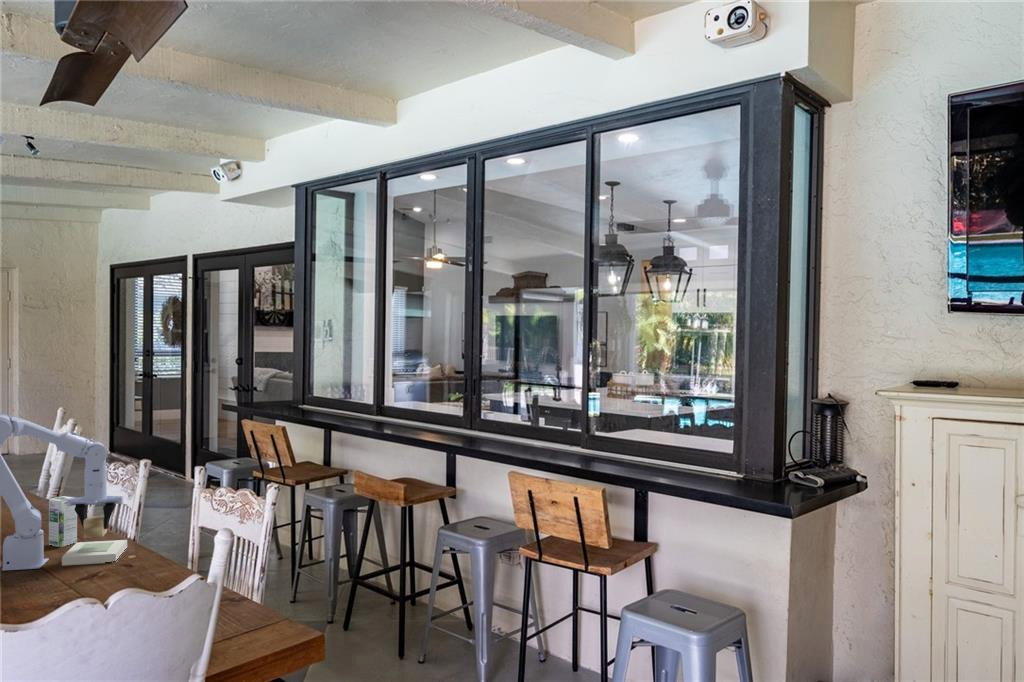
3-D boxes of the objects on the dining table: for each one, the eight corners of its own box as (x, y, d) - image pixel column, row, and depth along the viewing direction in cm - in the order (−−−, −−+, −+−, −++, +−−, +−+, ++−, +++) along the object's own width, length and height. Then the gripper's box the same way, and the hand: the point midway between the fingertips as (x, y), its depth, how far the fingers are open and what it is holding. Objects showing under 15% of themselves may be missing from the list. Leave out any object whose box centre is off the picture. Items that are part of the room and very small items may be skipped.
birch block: (83, 537, 222) (83, 520, 221) (88, 532, 226) (88, 516, 226) (102, 536, 223) (102, 519, 223) (107, 531, 228) (106, 515, 227)
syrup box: (47, 545, 235) (47, 499, 234) (65, 540, 240) (65, 495, 240) (60, 547, 233) (60, 501, 232) (78, 542, 238) (78, 496, 237)
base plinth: (61, 565, 217) (61, 555, 216) (76, 550, 230) (76, 541, 230) (115, 562, 220) (115, 552, 220) (127, 547, 234) (127, 538, 234)
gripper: (63, 487, 219) (64, 533, 219) (119, 485, 222) (119, 531, 223) (71, 481, 225) (71, 527, 226) (124, 479, 229) (125, 524, 230)
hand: (95, 528), depth 225 cm, fingers closed on birch block, 5 cm apart
